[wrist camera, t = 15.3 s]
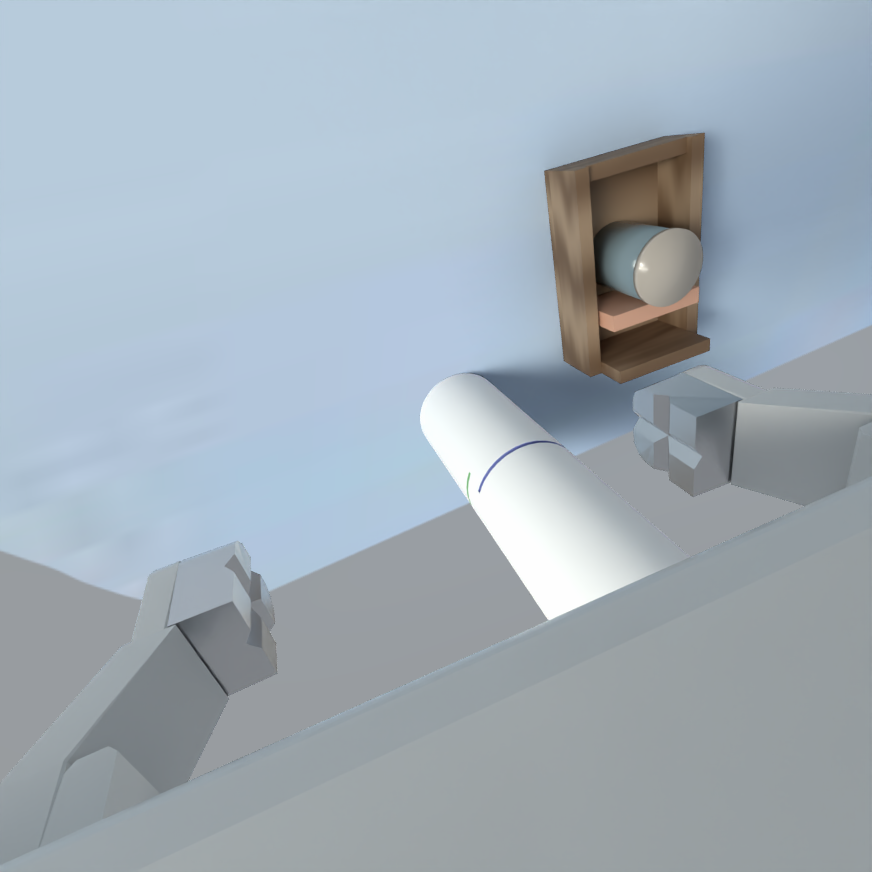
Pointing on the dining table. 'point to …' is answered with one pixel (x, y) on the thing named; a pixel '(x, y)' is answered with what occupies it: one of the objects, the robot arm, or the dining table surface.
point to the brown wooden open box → (634, 202)
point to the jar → (647, 261)
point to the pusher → (634, 309)
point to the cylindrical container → (540, 499)
